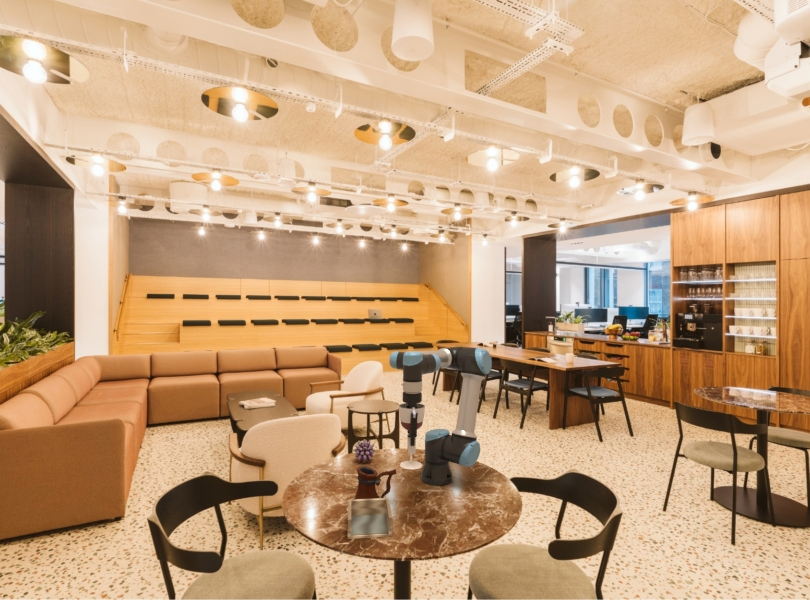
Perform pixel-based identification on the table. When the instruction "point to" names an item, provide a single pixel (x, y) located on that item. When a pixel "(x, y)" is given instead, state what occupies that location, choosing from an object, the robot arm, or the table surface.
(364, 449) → the flower
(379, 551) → the table surface
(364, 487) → the brown pitcher
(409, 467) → the wineglass
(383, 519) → the square tray
